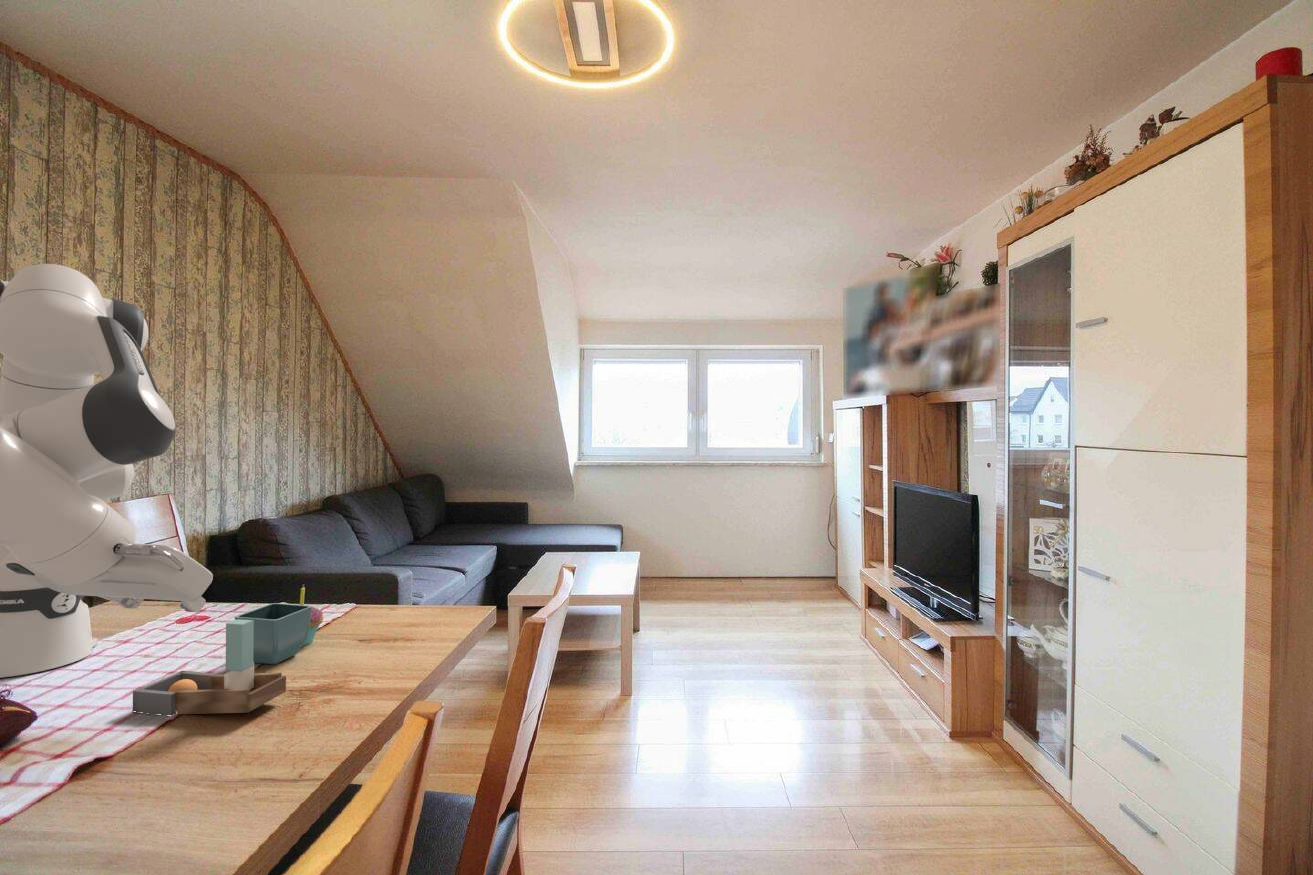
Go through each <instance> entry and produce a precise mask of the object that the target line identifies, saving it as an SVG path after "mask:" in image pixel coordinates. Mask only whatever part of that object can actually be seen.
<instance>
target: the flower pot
mask: <svg viewBox="0 0 1313 875" xmlns="http://www.w3.org/2000/svg"><path fill="white" fill-rule="evenodd" d="M312 607H313V606H312V605H300V604H290V603H278V602H274V603H270V604H266V605H264V606H262V607H261V606H260V607H258V608H256V609H253V610H250V611H247V612H244V613H241V614H239V615H236V616H234V620H237V619H241V620H254V644H253V663H254V664H255V663H257V664H267V665H277V664H279V663H281V662H283V661H285V660H288V659H289V658H292V657H293V656H296V655H297V654H298V652H299V651H300V649H302V648H301V647H302V645H303V643H304V641H305V639H306V637H307V634H308V630H309V625H310V618H311V611H312ZM303 646H304V645H303Z"/></svg>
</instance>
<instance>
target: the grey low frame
mask: <svg viewBox="0 0 1313 875" xmlns="http://www.w3.org/2000/svg"><path fill="white" fill-rule="evenodd" d="M213 675H219V674H218V673H215V672H214V673H213V672H203V671H202V672H200V671H191V670H190V671H189V670H181V671H178V672H176V673H173V674H171V675H169V676H166V677H164V678H161V679H159V680H157V681H154V682H152V683H149V684H147V685H145V686H144V685H143V686H142V687H139V688H138V689H135V690H133V691H132V712H133V711H136V712H143V713H149V714H148V715H151V714H161V715H173V714H175V715H176V714H177V707H176V695H175V692H168V690H169V688H170V687H171V686H172V685H173V684H174V683H175V682H177V681H179V680H183V679H189V680H192V681H194V682H195V683H196V684H197V690H210V689H212V687H211V676H213ZM161 715H160V716H161ZM173 716H174V715H173Z"/></svg>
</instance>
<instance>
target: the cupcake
mask: <svg viewBox="0 0 1313 875" xmlns="http://www.w3.org/2000/svg"><path fill="white" fill-rule="evenodd" d="M305 593H306V588H305V584H302V588H300V596H299V597H300V599H299V605H304V604H305ZM323 621H324V615H323V612H322V611H321V609H319V608H317V607H315V606H312V611H311V618H310V625H309V630H308V634H307V637H306V639H305V641H304V643H303V645H302V646H307V645H308V644H311V643H312V642H313V641H314V639H315V635H316V633H317V631H318V629H319V627H320V625H322V623H323ZM302 646H301V647H302Z"/></svg>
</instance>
